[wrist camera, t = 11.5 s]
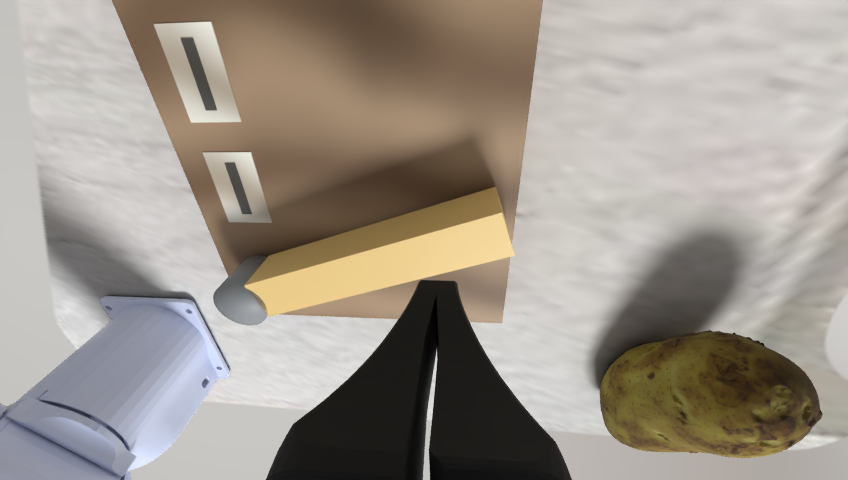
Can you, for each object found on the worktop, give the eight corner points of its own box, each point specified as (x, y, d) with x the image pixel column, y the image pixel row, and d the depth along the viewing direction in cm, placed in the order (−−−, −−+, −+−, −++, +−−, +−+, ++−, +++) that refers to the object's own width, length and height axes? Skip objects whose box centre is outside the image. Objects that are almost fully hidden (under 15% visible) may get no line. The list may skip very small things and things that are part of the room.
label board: (499, 308, 25) (502, 324, 24) (254, 299, 27) (243, 313, 25) (544, -73, 14) (553, -83, 13) (119, -48, 16) (87, -55, 14)
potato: (551, 368, 28) (580, 476, 21) (705, 275, 22) (814, 385, 15) (615, 410, 30) (660, 520, 24) (771, 336, 24) (892, 455, 18)
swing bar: (259, 297, 24) (235, 329, 21) (231, 262, 22) (202, 292, 20) (508, 230, 19) (516, 261, 17) (494, 180, 18) (500, 206, 15)
